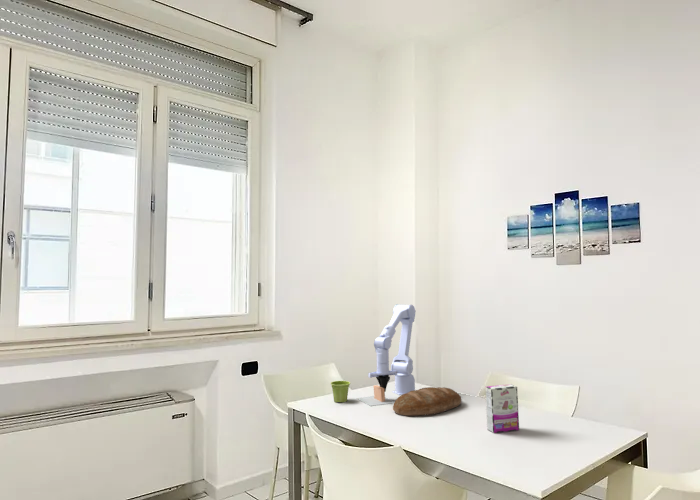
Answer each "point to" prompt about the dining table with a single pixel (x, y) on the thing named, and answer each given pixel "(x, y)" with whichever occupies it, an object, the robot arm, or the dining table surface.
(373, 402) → the mat
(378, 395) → the tile
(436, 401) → the bread
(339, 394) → the plant pot
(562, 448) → the dining table surface
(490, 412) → the candy bar box
